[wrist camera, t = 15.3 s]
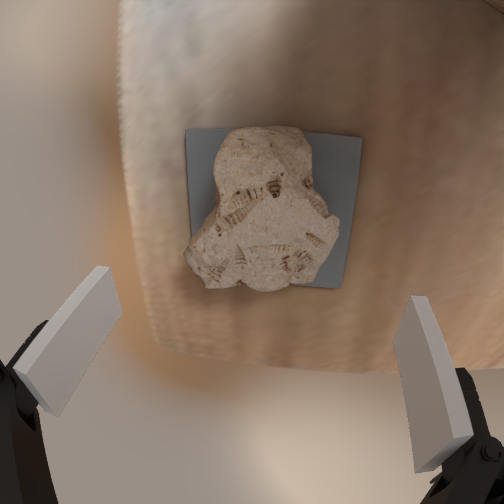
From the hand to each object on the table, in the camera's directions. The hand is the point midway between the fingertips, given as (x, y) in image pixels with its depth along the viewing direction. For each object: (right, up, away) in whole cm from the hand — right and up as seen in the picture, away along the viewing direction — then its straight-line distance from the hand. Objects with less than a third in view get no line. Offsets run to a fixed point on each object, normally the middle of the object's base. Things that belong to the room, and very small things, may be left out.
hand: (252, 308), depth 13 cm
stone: (0, +6, +10) cm, 11 cm away
